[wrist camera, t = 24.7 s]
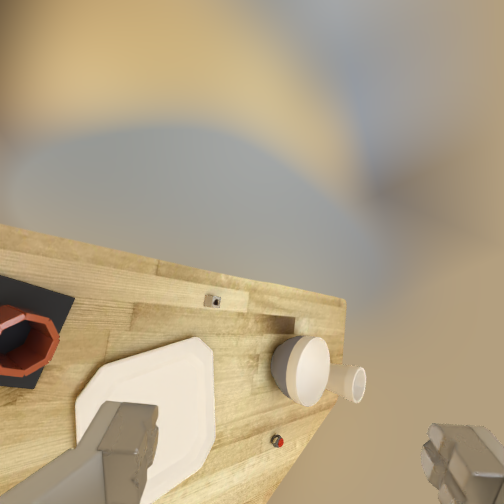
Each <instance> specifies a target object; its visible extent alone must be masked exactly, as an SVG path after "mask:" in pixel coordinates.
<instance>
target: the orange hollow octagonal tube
mask: <svg viewBox="0 0 504 504" xmlns="http://www.w3.org/2000/svg"><path fill="white" fill-rule="evenodd" d="M23 320H27V321H28V323H29V325H30V327H31V330H30V332H29V334H28V336H27V338H26V341H25V343H24V344H23V345H21V346H20V347H18V348H16V349H14V350H12V351H10V352H8V353H6V354H3V353H0V375H6V376H15V377H23V376H24V375H25V376H28V375H29V374H31V373H33V372H34V371H36V370H38V369H39V368H41V367H43V366H45V365H46V364H48V363H49V362H48V361H51V360H52V357H53V355H54V353H55V350H56V348H57V346H58V343H59V341H60V340H59V339H58V338H60V336H59V334H58V332H57V330H56V328H55V326H54V324H53V322H52V320H50V319H49V318H48V317H45V316H43V315H40V314H38V313H36V312H33V311H31V310H28V309H25V308H21V307H17V306H12V305H8V304H7V306H6V305H2V306H0V335H1V333H2V331H3V330H4V329H6V328H8V327H11V326H13V325H15V324H17V323H19V322H21V321H23Z"/></svg>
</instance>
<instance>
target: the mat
mask: <svg viewBox="0 0 504 504" xmlns="http://www.w3.org/2000/svg"><path fill="white" fill-rule="evenodd" d="M74 300H75V298H73V297H70V296H66V295H63V294H60V293H57V292H53V291H50V290H47V289H44V288H41V287H37V286H34V285H31V284H28V283H24V282H21V281H18V280H15V279H11V278H8V277H5V276H2V275H0V306H2V305H6V306H7V304H8V305H12V306H17V307H21V308H25V309H28V310H31V311H33V312H36V313H38V314H40V315H43V316H45V317H48V318H49V319H50V320H52V322H53V324H54V326H55V328H56V330H57V332H58V334H59V333H60V331H61V328H62V326H63V324H64V322H65V320H66V317H67V315H68V313H69V311H70V309H71V306H72V304H73V302H74ZM30 330H31V327H30V325H29V323H28V321H27V320H23V321H21V322H19V323H17V324H15V325H13V326H11V327H8V328H6V329H4V330H3V331H2V333H1V335H0V353H3V354H6V353H8V352H10V351H12V350H14V349H16V348H18V347H20V346H21V345H23V344H24V343H25V341H26V338H27V336H28V334H29V332H30ZM43 368H44V366H43V367H41V368H39V369H38V370H36V371H34V372H33V373H31V374H29V375H28V376H25V375H24V376H23V377H15V376H6V375H0V386H7V387H17V388H27V389H34V388H35V386H36V384H37V381H38V379H39V377H40V375H41V373H42V370H43Z"/></svg>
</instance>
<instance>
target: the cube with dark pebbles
mask: <svg viewBox="0 0 504 504" xmlns="http://www.w3.org/2000/svg"><path fill="white" fill-rule="evenodd" d="M220 300H221V297H217V296H210V295H205V301H204V306H207V307H214V308H219V307H220Z"/></svg>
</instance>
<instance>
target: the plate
mask: <svg viewBox="0 0 504 504" xmlns="http://www.w3.org/2000/svg"><path fill="white" fill-rule="evenodd" d="M105 401H115V402H131V403H141V404H152V405H157V406H158V415H159V416H158V418H157V421H156V425H157V427H158V428H159V434H158V444H157V449H156V454H155V457H154V460H153V464H152V465H151V466H150V467H149V468H148V469H147V483H146V486H145V489H144V492H143V495H142V498H141V501H140V504H152V503H153V502H155V501H156V500H157V499H159V498H160V497H162V496H163V495H164V494H166V493H167V492H169V491H170V490H171V489H173V488H174V487H176V486H177V485H178V484H180V483H181V482H183V481H184V480H185V479H187V478H188V477H190V476H191V475H192V474H194V473H195V472H197V471H198V470H199V469H200V468H201V467H202V466H203V464H204V462H205V460H206V458H207V456H208V454H209V452H210V450H211V447H212V445H213V443H214V441H215V437H216V432H215V400H214V366H213V351H212V349H211V348H210V347H208V346H207V345H206V344H205V343H204V342H203V341H202V340H201V339H200V338H199V337H192V338H189V339H185V340H182V341H179V342H176V343H172V344H169V345H166V346H163V347H159V348H156V349H153V350H150V351H146V352H143V353H140V354H137V355H133V356H130V357H127V358H124V359H120V360H117V361H114V362H111V363H107V364H104V365H103V366H101V367H100V368H99V369H98V370H97V372H96V373H95V374H94V376H93V377H92V378H91V380H90V381H89V382H88V384H87V385H86V386H85V388H84V389H83V390H82V392H81V393H80V394H79V396H78V397H77V399H76V402H75V419H76V441H77V445H78V443H79V441H80V440H81V438H82V436H83V435H84V433H85V431H86V430H87V428H88V426H89V425H90V423H91V421H92V420H93V418H94V416H95V415H96V413H97V411H98V410H99V408H100V406H101V405H102V404H103V403H104V402H105Z"/></svg>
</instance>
